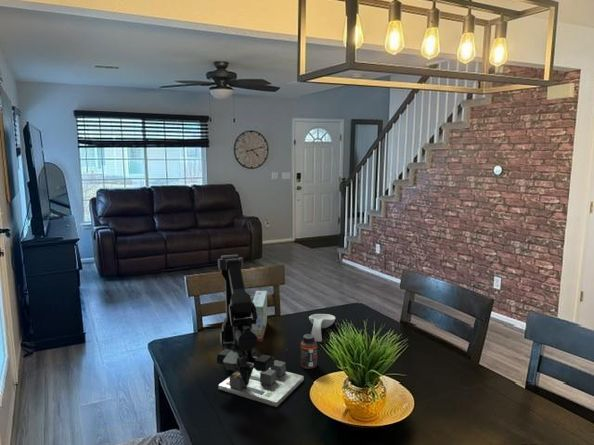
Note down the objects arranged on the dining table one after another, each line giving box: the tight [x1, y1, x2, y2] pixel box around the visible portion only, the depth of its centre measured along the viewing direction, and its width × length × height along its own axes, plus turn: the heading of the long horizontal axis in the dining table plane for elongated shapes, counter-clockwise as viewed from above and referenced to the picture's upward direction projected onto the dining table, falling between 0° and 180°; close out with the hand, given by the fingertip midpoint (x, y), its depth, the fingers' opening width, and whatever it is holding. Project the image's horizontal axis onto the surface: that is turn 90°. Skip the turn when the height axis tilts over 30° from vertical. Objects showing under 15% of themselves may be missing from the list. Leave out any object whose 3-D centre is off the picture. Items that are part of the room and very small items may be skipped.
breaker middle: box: [260, 369, 276, 386], centre depth 147 cm, size 4×4×4 cm
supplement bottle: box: [300, 333, 318, 370], centre depth 161 cm, size 6×6×11 cm
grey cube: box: [229, 371, 245, 389], centre depth 145 cm, size 4×4×4 cm
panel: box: [218, 368, 305, 408], centre depth 149 cm, size 22×18×2 cm
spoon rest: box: [308, 313, 336, 343], centre depth 192 cm, size 24×12×7 cm, turn 170°
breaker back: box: [270, 359, 287, 377], centre depth 153 cm, size 4×4×4 cm
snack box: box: [250, 290, 268, 342], centre depth 191 cm, size 21×6×15 cm, turn 179°
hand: (246, 384), depth 143 cm, fingers closed
